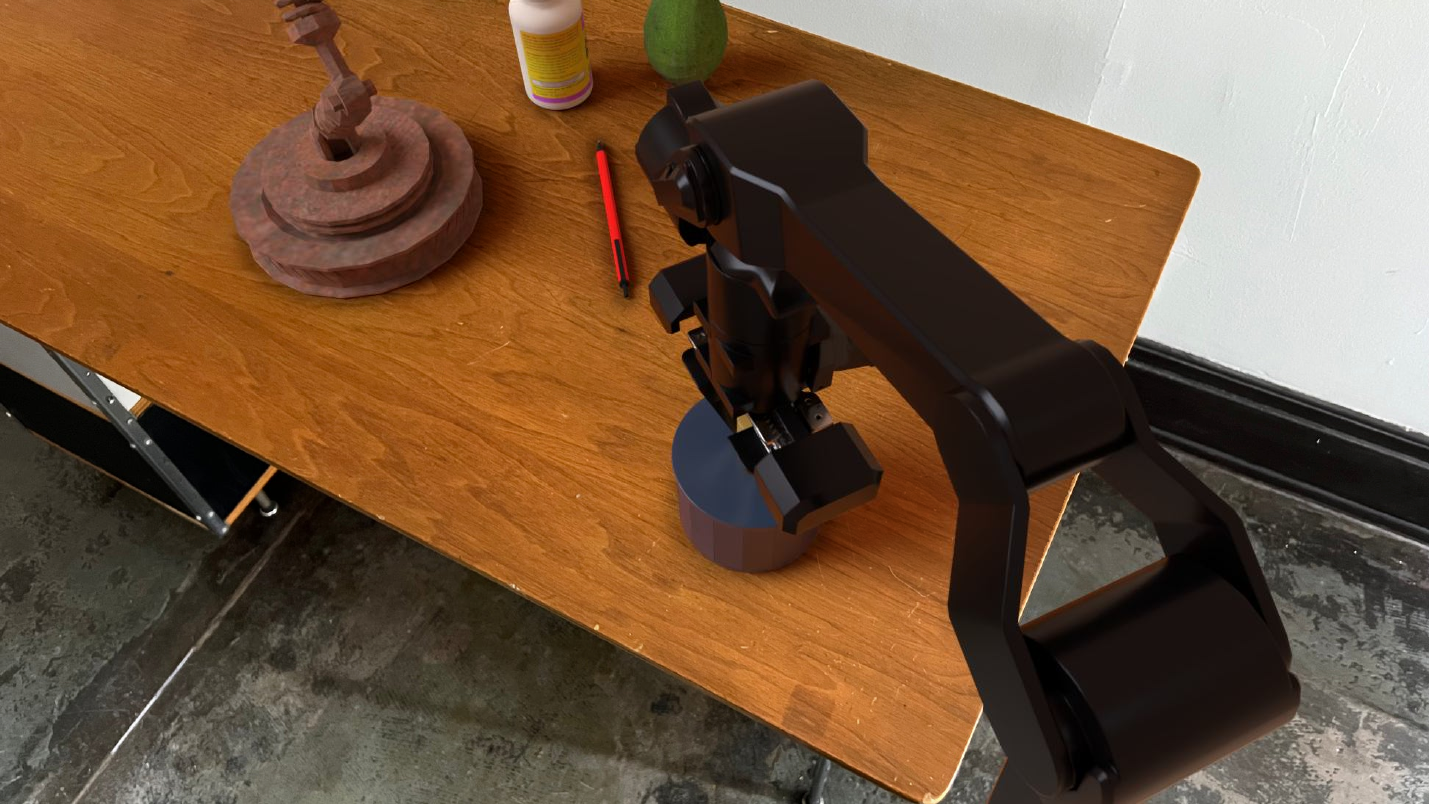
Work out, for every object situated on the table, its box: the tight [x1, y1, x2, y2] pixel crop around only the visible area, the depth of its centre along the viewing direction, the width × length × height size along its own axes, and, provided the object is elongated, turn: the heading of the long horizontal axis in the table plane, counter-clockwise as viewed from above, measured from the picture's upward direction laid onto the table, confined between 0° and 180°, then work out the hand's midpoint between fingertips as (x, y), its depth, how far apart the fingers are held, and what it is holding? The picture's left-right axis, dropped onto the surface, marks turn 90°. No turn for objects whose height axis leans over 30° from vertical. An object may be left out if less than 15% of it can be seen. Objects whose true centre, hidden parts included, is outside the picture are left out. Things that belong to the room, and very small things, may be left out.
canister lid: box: [670, 396, 793, 531], centre depth 62 cm, size 11×11×6 cm
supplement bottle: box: [508, 0, 594, 111], centre depth 90 cm, size 7×7×13 cm
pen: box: [595, 140, 631, 299], centre depth 86 cm, size 1×19×1 cm, turn 10°
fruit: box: [643, 0, 729, 86], centre depth 91 cm, size 8×8×12 cm
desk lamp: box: [228, 0, 484, 300], centre depth 71 cm, size 21×32×40 cm, turn 36°
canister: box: [676, 483, 822, 574], centre depth 67 cm, size 10×10×8 cm
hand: (754, 451), depth 63 cm, fingers closed on canister lid, 2 cm apart
